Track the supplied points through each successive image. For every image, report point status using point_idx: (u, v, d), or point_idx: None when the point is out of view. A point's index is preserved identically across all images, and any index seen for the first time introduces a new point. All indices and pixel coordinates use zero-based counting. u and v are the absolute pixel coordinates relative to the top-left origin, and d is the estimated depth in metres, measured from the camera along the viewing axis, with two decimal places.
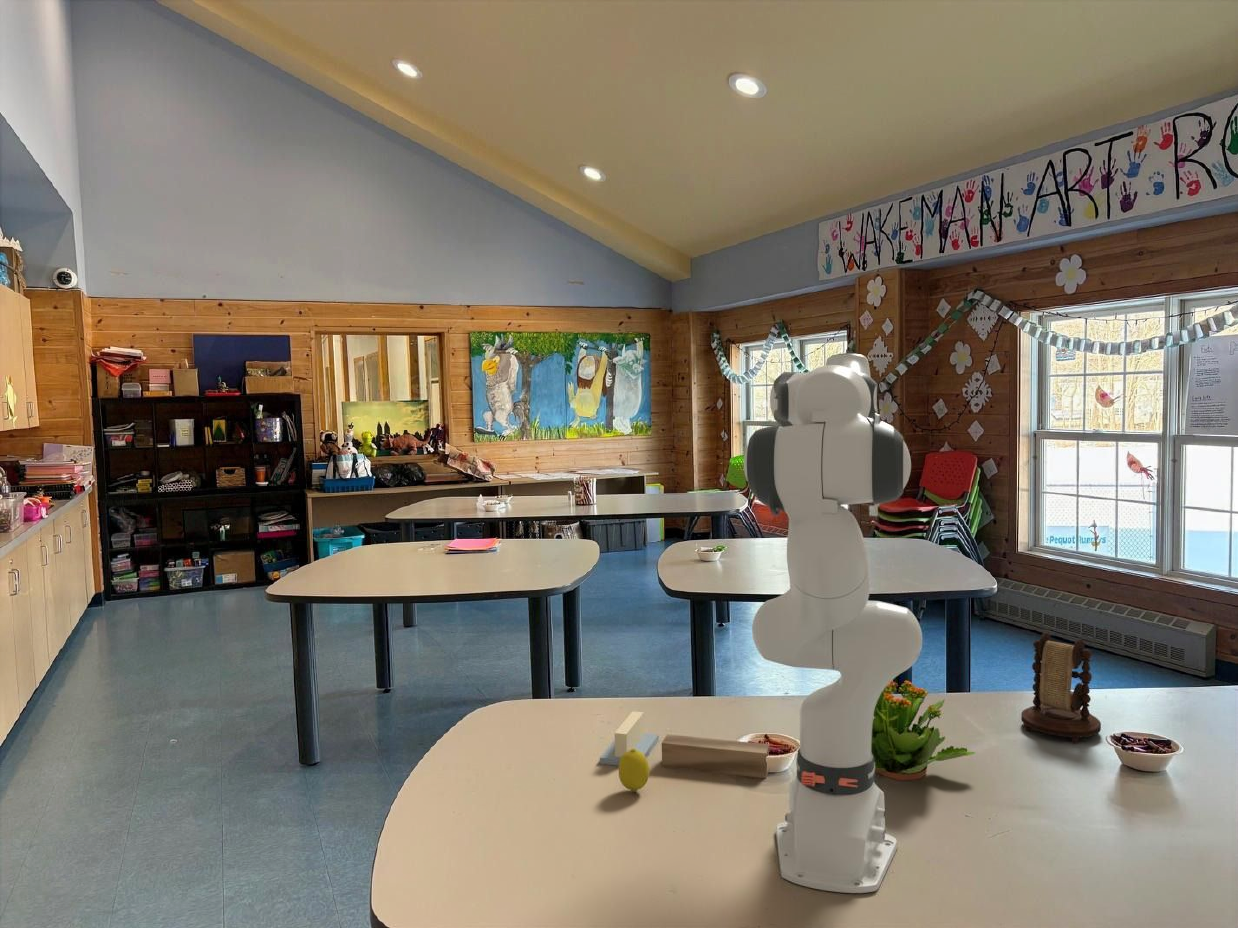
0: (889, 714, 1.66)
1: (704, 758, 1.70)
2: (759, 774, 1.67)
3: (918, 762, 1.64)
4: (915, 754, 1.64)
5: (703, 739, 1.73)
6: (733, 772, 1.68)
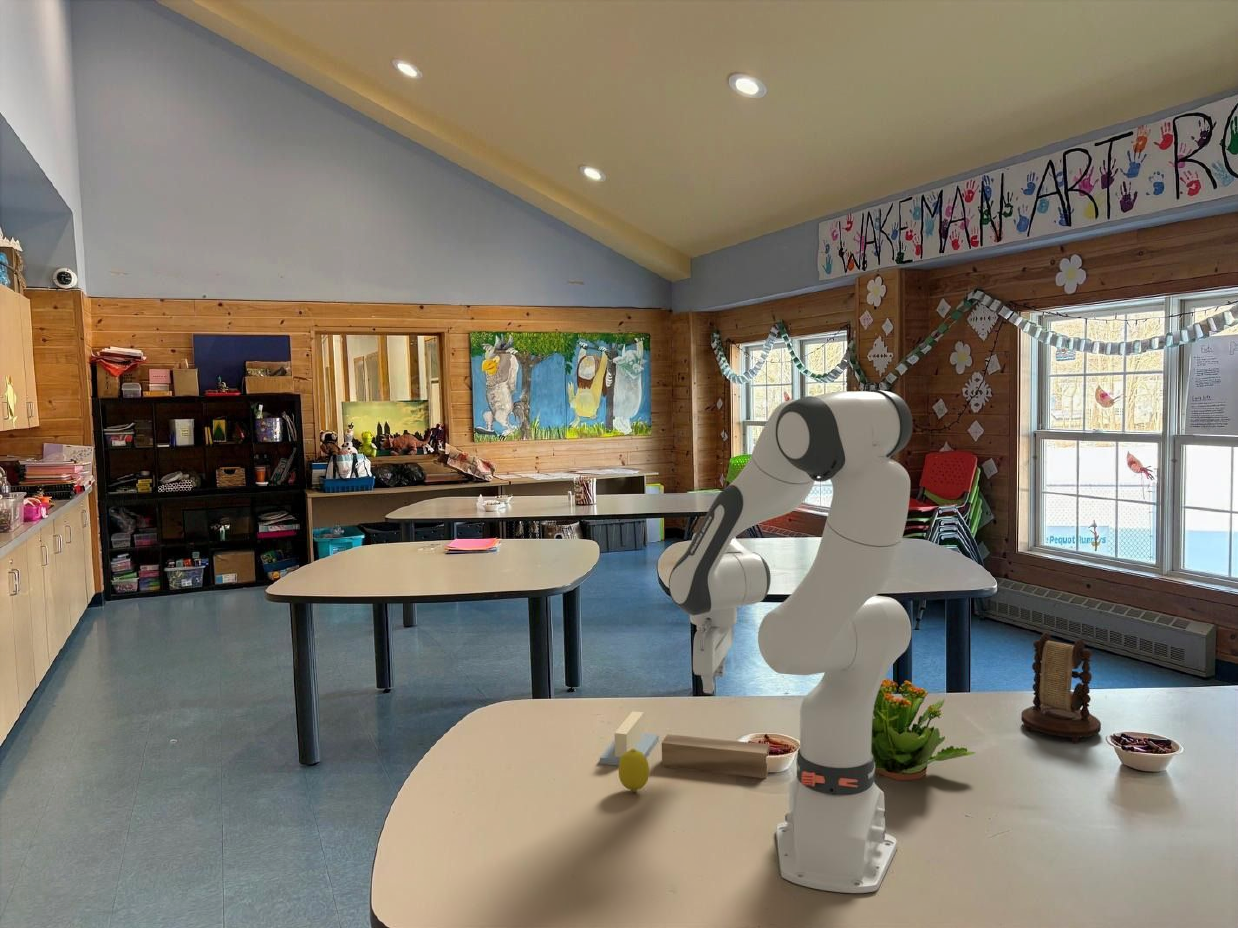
0: (889, 714, 1.66)
1: (704, 758, 1.70)
2: (759, 774, 1.67)
3: (918, 762, 1.64)
4: (915, 754, 1.64)
5: (703, 739, 1.73)
6: (733, 772, 1.68)
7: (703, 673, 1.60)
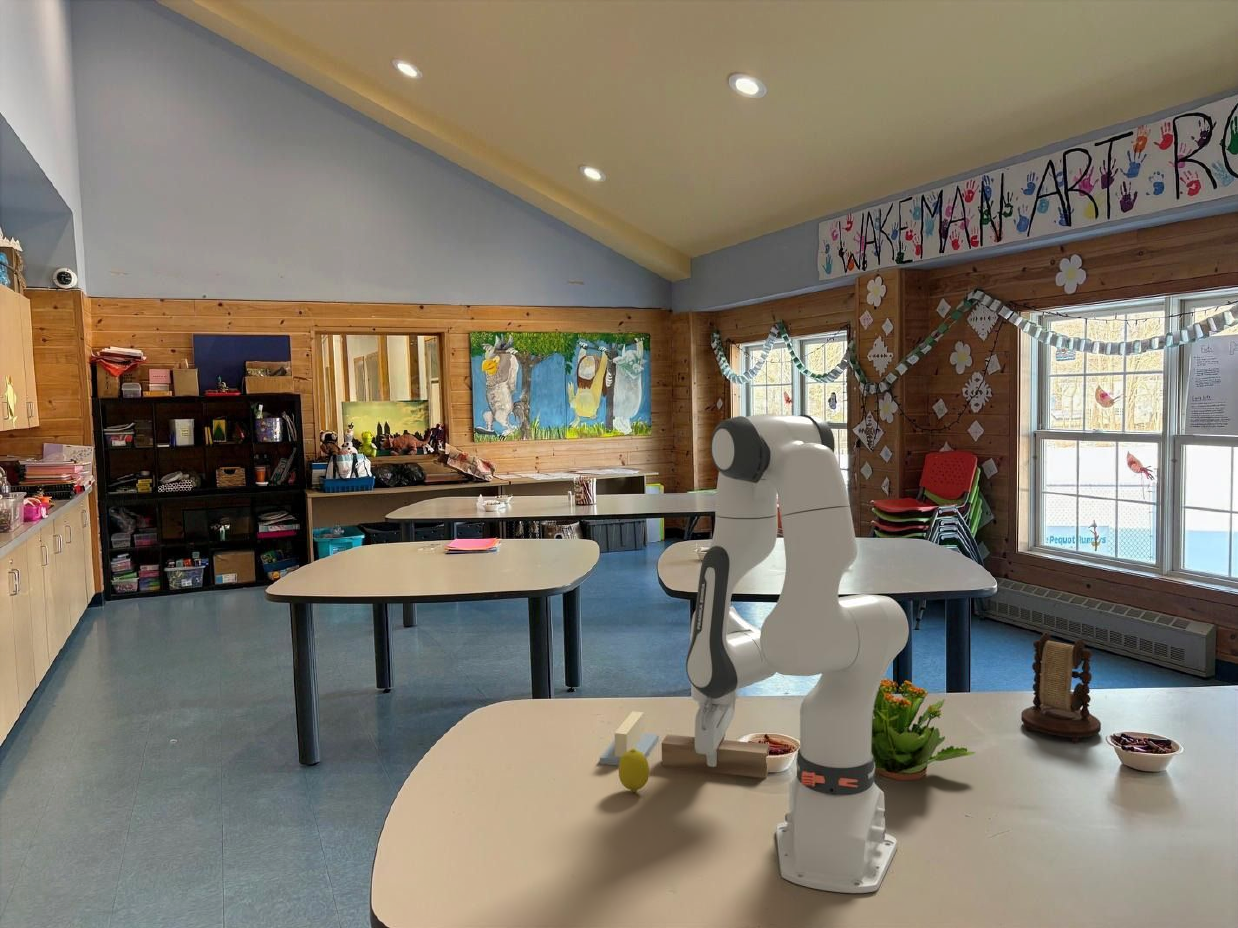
0: (889, 714, 1.66)
1: (704, 758, 1.70)
2: (759, 774, 1.67)
3: (918, 762, 1.64)
4: (915, 754, 1.64)
5: None
6: (733, 772, 1.68)
7: (705, 752, 1.62)
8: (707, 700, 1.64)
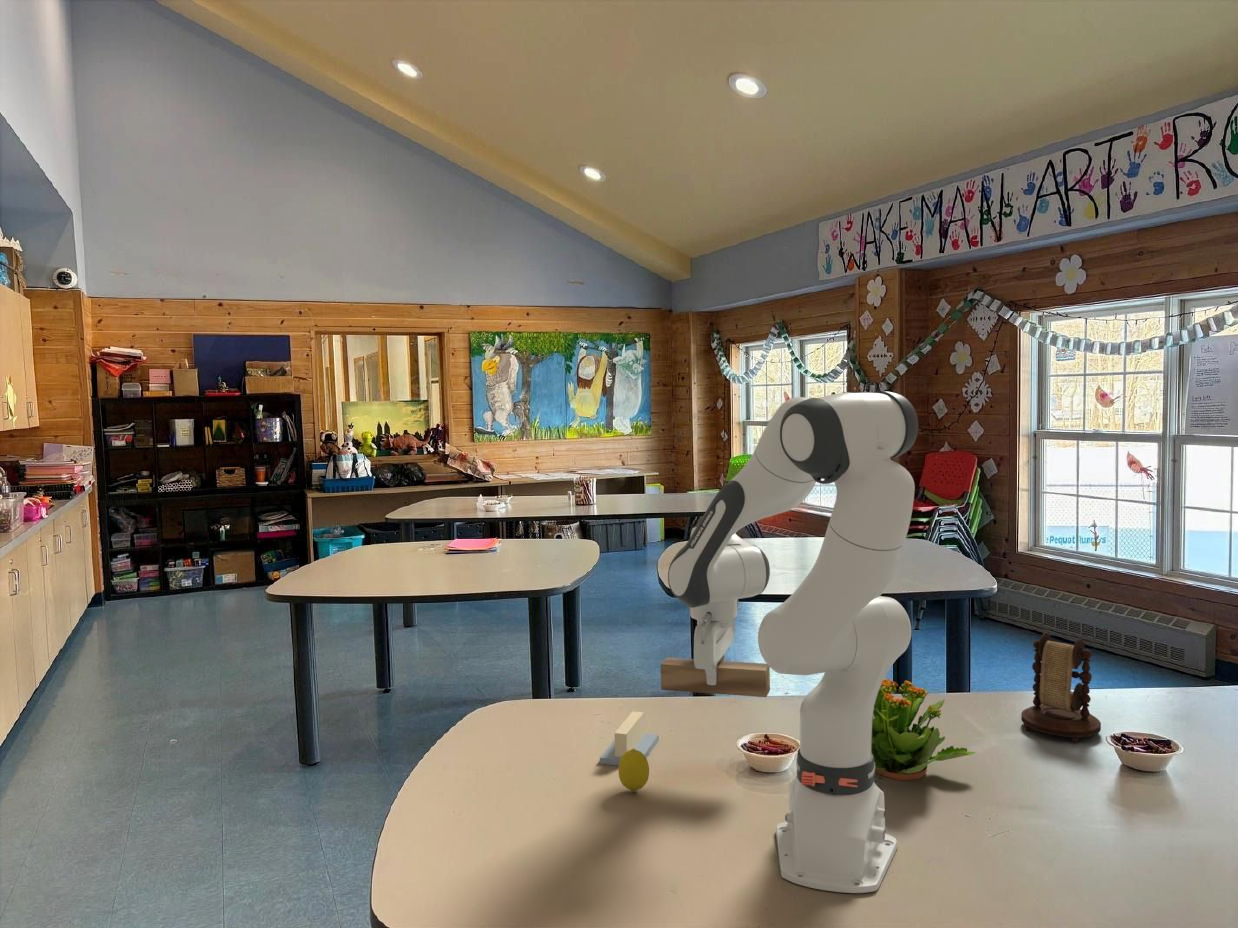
0: (889, 714, 1.66)
1: (704, 678, 1.68)
2: (759, 692, 1.65)
3: (918, 762, 1.64)
4: (915, 754, 1.64)
5: None
6: (733, 691, 1.67)
7: (704, 667, 1.60)
8: (706, 615, 1.63)
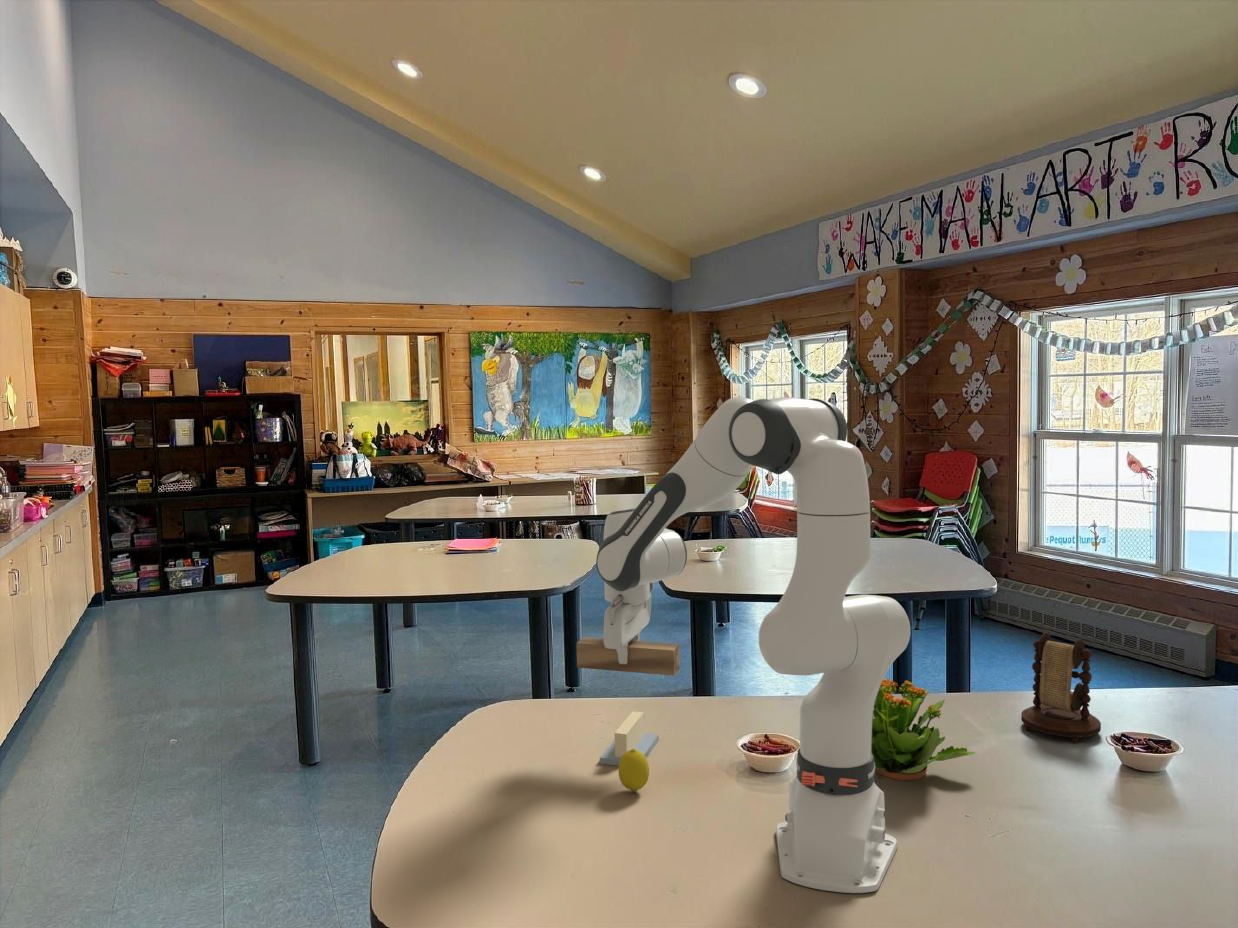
0: (889, 714, 1.66)
1: (616, 657, 1.77)
2: (667, 671, 1.74)
3: (918, 762, 1.64)
4: (915, 754, 1.64)
5: None
6: (643, 669, 1.75)
7: (613, 646, 1.68)
8: (616, 598, 1.71)
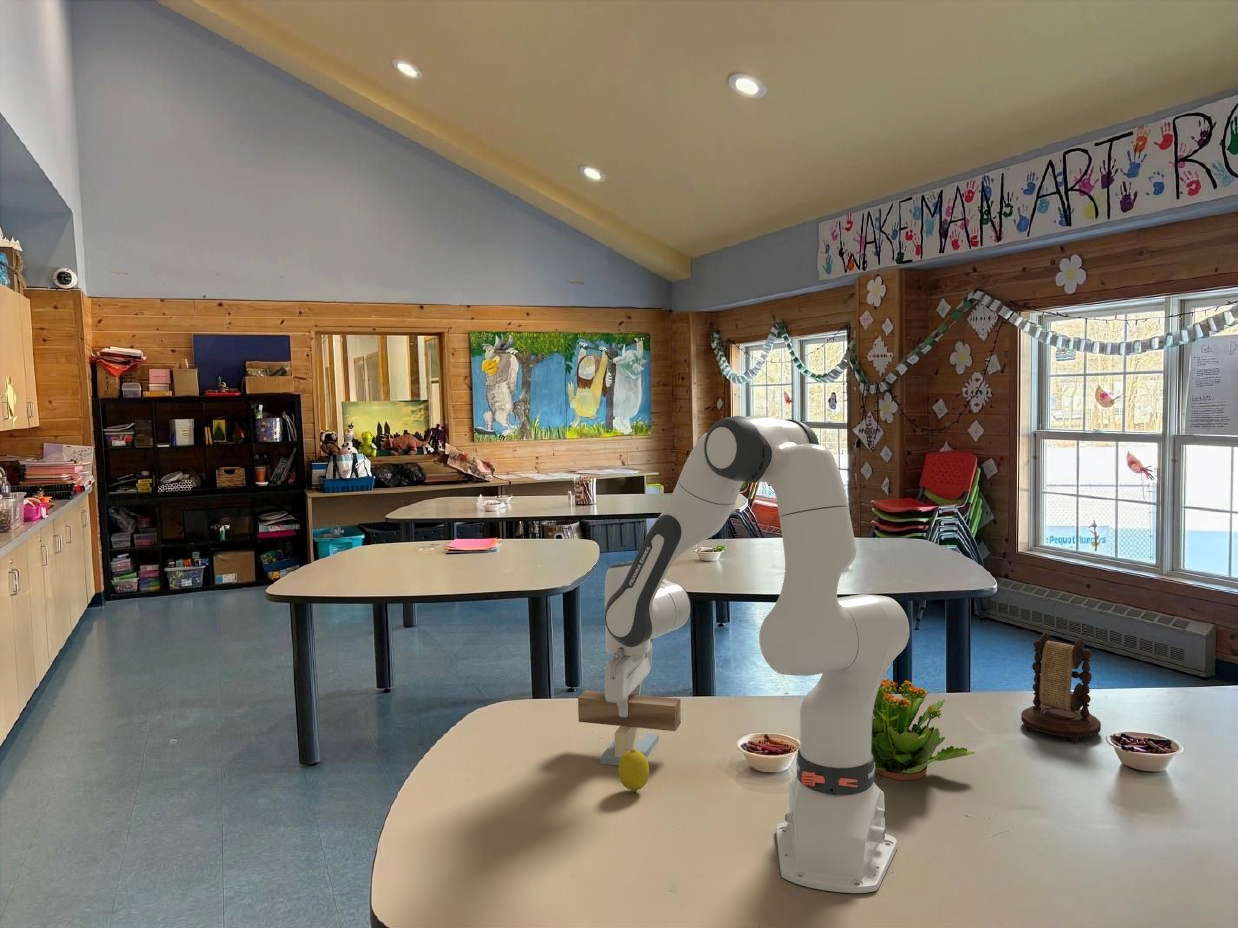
0: (889, 714, 1.66)
1: (618, 712, 1.78)
2: (668, 726, 1.75)
3: (918, 762, 1.64)
4: (915, 754, 1.64)
5: None
6: (644, 725, 1.76)
7: (614, 700, 1.69)
8: (617, 651, 1.72)
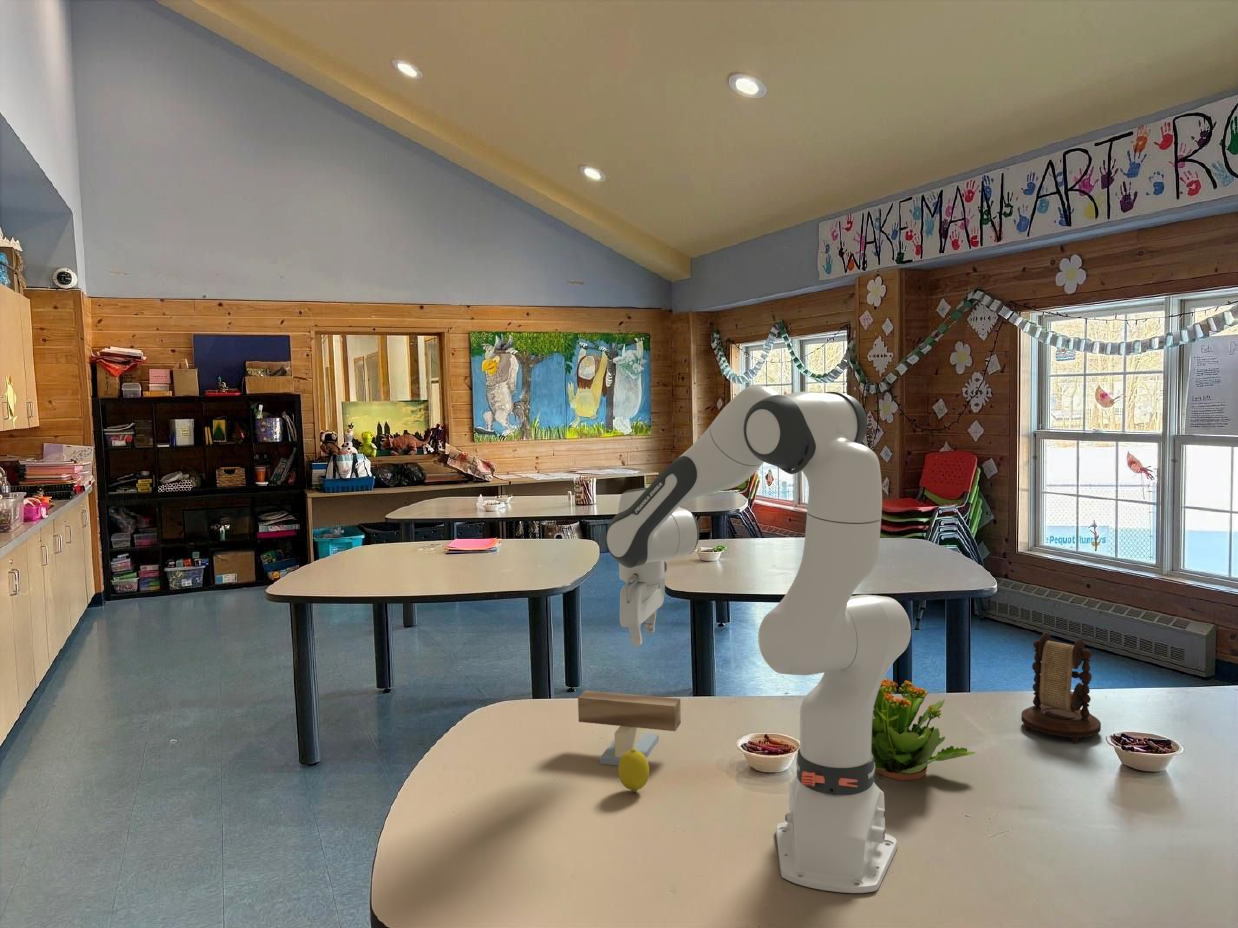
0: (889, 714, 1.66)
1: (618, 712, 1.78)
2: (668, 726, 1.75)
3: (918, 762, 1.64)
4: (915, 754, 1.64)
5: (618, 694, 1.81)
6: (644, 725, 1.76)
7: (629, 625, 1.68)
8: (632, 576, 1.70)
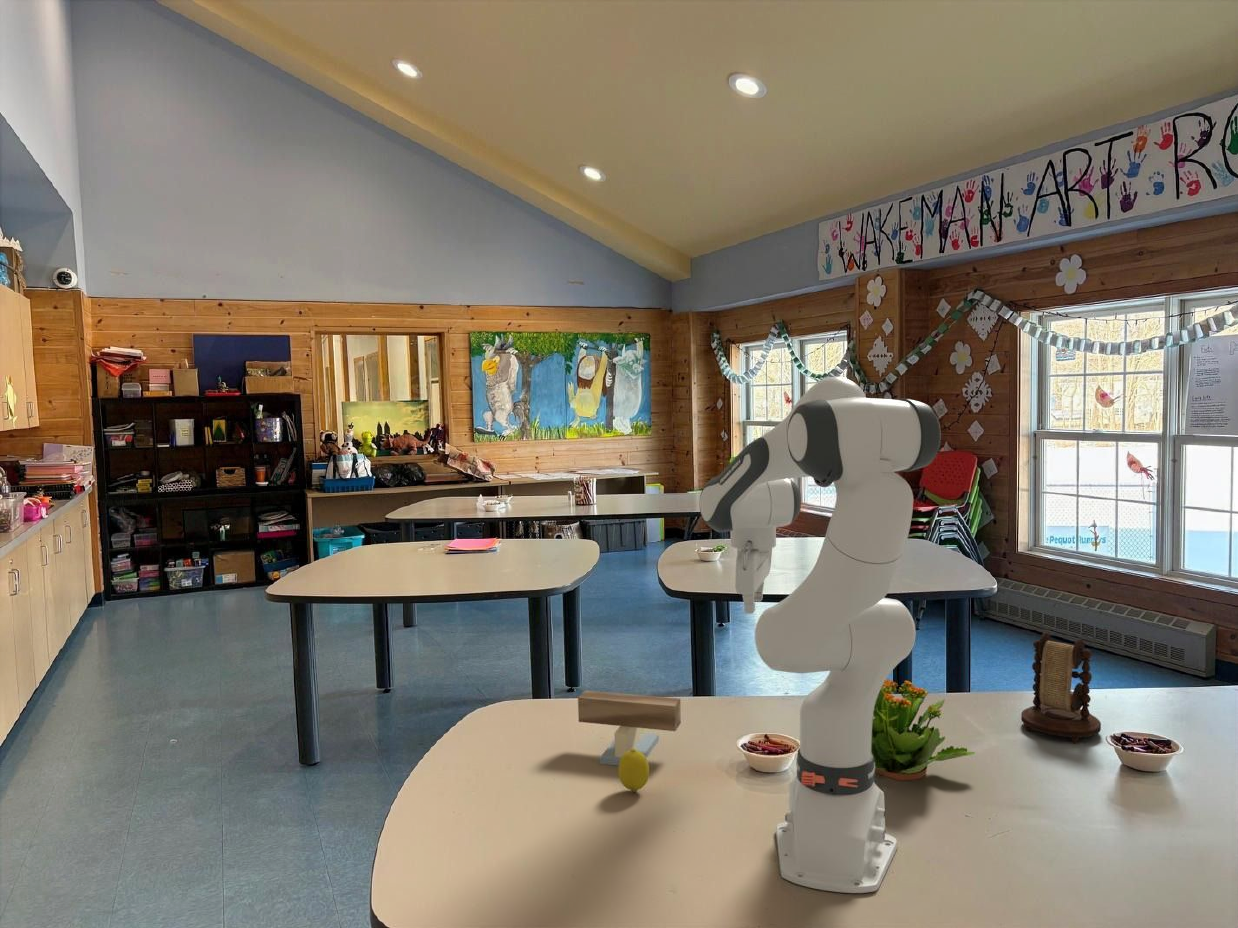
0: (889, 714, 1.66)
1: (618, 712, 1.78)
2: (668, 726, 1.75)
3: (918, 762, 1.64)
4: (915, 754, 1.64)
5: (618, 694, 1.81)
6: (644, 725, 1.76)
7: (745, 592, 1.67)
8: (747, 543, 1.69)
